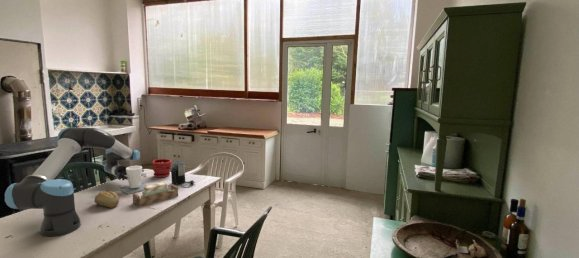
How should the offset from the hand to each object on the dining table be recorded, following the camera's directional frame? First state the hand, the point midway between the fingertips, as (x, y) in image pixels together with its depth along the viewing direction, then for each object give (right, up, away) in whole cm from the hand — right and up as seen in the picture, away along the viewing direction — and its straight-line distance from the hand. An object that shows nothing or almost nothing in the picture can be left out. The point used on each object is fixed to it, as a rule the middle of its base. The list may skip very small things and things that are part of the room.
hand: (138, 176), depth 189 cm
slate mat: (-4, -8, +4) cm, 10 cm away
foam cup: (-4, -7, +3) cm, 9 cm away
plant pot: (+2, -5, +32) cm, 32 cm away
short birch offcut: (+18, -5, -14) cm, 24 cm away
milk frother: (+24, -8, +16) cm, 30 cm away
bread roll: (-6, -13, -23) cm, 27 cm away
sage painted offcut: (+18, -7, -14) cm, 24 cm away
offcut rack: (+18, -11, -14) cm, 26 cm away
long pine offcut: (+18, -10, -14) cm, 25 cm away
